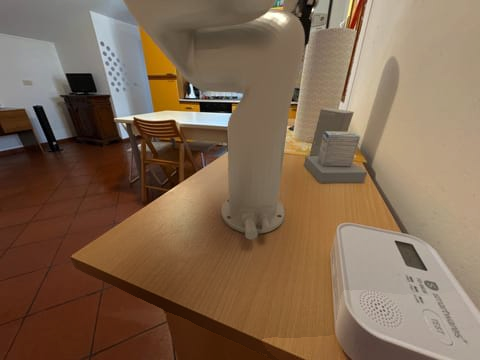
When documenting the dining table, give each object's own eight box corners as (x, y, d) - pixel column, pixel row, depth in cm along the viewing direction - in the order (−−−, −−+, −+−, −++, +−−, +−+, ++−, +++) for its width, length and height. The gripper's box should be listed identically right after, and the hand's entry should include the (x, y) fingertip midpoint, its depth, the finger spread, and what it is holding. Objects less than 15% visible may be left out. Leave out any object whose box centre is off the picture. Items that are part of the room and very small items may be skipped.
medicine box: (344, 161, 56) (353, 131, 52) (351, 167, 52) (361, 135, 48) (317, 160, 57) (323, 130, 53) (321, 166, 53) (329, 135, 49)
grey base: (363, 182, 51) (367, 172, 50) (319, 183, 51) (321, 172, 49) (340, 164, 62) (343, 155, 60) (303, 164, 61) (305, 156, 60)
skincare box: (309, 155, 69) (317, 108, 62) (319, 151, 73) (329, 106, 66) (331, 162, 63) (344, 111, 56) (341, 157, 68) (354, 109, 60)
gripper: (352, -104, 28) (326, 41, 36) (308, -39, 43) (297, 52, 51) (301, -107, 27) (286, 41, 35) (275, -41, 43) (269, 52, 51)
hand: (292, 47), depth 43 cm, fingers open, 9 cm apart
